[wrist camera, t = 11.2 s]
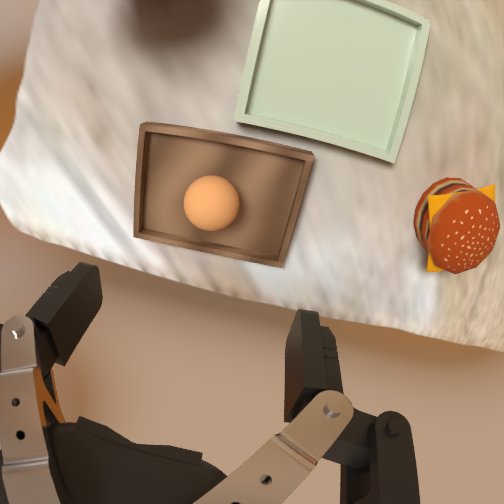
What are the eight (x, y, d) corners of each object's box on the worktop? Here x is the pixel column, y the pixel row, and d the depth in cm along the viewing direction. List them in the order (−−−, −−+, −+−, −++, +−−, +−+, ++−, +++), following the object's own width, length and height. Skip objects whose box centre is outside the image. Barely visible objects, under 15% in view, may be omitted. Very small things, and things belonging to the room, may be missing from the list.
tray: (311, 151, 27) (314, 156, 26) (281, 258, 34) (281, 268, 32) (147, 121, 27) (139, 124, 25) (139, 229, 33) (133, 236, 31)
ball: (246, 174, 28) (240, 192, 24) (237, 221, 31) (230, 246, 27) (195, 164, 28) (179, 180, 24) (189, 211, 31) (174, 234, 27)
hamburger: (407, 184, 28) (435, 209, 23) (478, 170, 26) (512, 191, 21) (411, 259, 33) (433, 294, 27) (476, 242, 31) (503, 271, 25)
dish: (422, 23, 19) (431, 21, 18) (388, 158, 27) (394, 163, 26) (268, -26, 19) (268, -32, 17) (235, 118, 26) (233, 121, 25)
